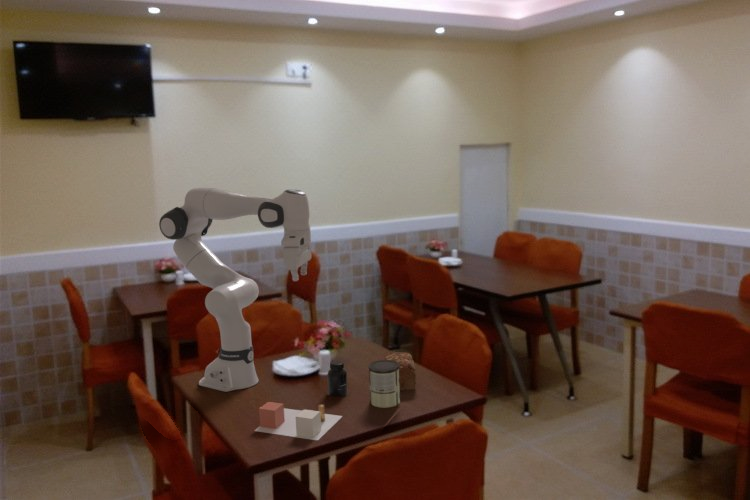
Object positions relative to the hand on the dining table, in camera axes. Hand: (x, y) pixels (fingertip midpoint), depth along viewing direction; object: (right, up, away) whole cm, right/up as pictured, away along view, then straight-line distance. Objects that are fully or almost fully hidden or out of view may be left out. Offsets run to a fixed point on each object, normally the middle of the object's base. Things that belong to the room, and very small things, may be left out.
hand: (299, 277), depth 223 cm
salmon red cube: (-7, -46, -16) cm, 49 cm away
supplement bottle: (+13, -42, +8) cm, 45 cm away
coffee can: (+29, -43, -2) cm, 52 cm away
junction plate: (+2, -46, -16) cm, 49 cm away
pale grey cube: (+5, -46, -23) cm, 52 cm away
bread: (+35, -40, +18) cm, 56 cm away
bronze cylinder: (+9, -45, -15) cm, 48 cm away
